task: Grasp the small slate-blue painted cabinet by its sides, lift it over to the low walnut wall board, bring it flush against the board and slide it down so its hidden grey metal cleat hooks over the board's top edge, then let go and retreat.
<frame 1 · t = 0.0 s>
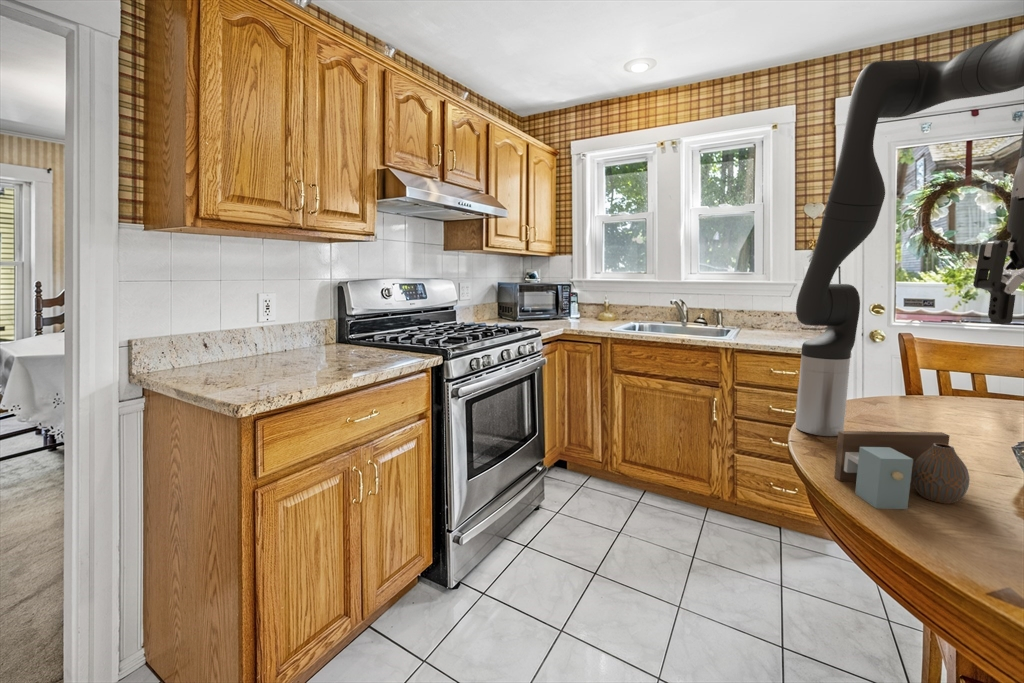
vase: (936, 499, 77), on the table
cabinet: (880, 501, 76), on the table
wall board: (888, 480, 84), on the table
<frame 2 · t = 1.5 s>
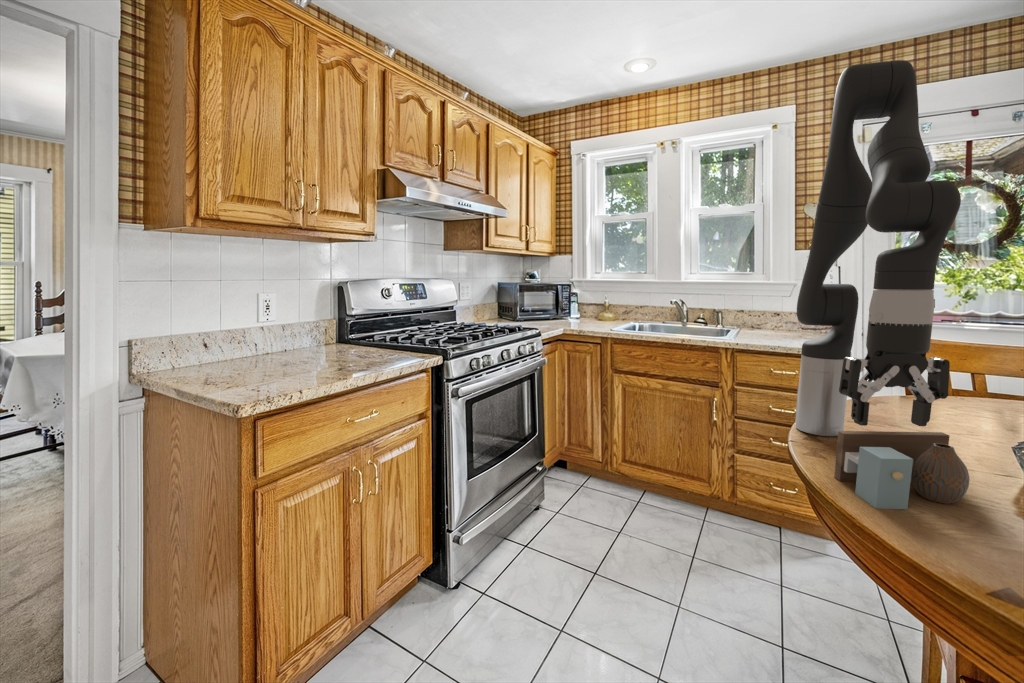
hand: (889, 424, 74), 13 cm above the table, fingers open, 8 cm apart
nothing on the table moved.
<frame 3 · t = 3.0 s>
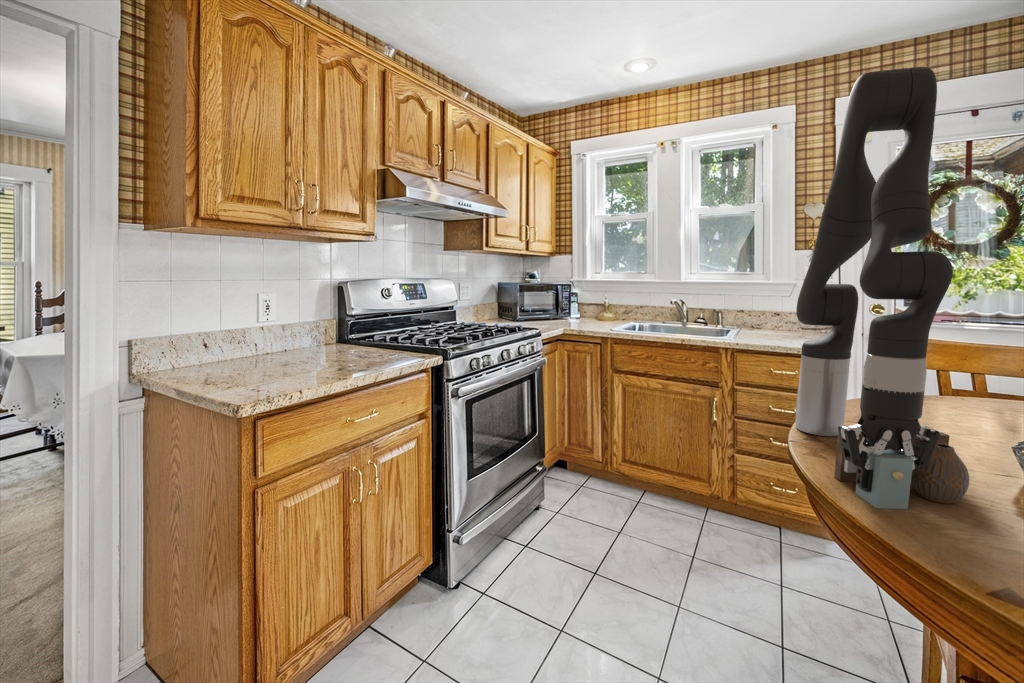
hand: (881, 489, 76), 2 cm above the table, fingers closed on cabinet, 4 cm apart
cabinet: (880, 501, 76), on the table, touching gripper
everything else where it was.
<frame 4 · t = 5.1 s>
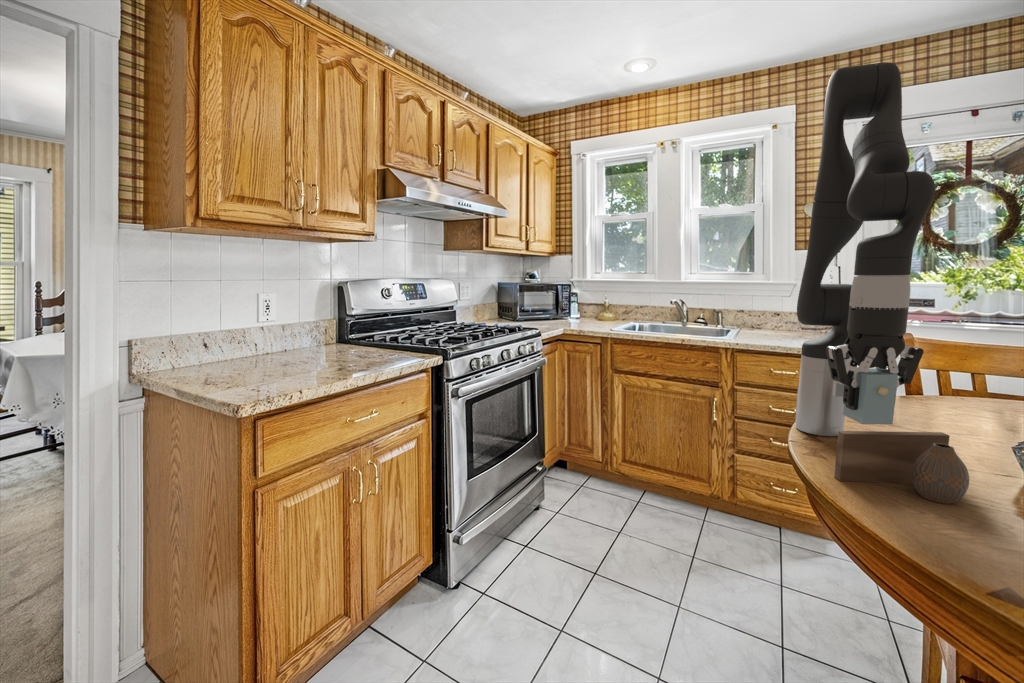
hand: (867, 408, 79), 14 cm above the table, fingers closed on cabinet, 4 cm apart
cabinet: (866, 419, 79), point 12 cm above the table, touching gripper
everything else where it was.
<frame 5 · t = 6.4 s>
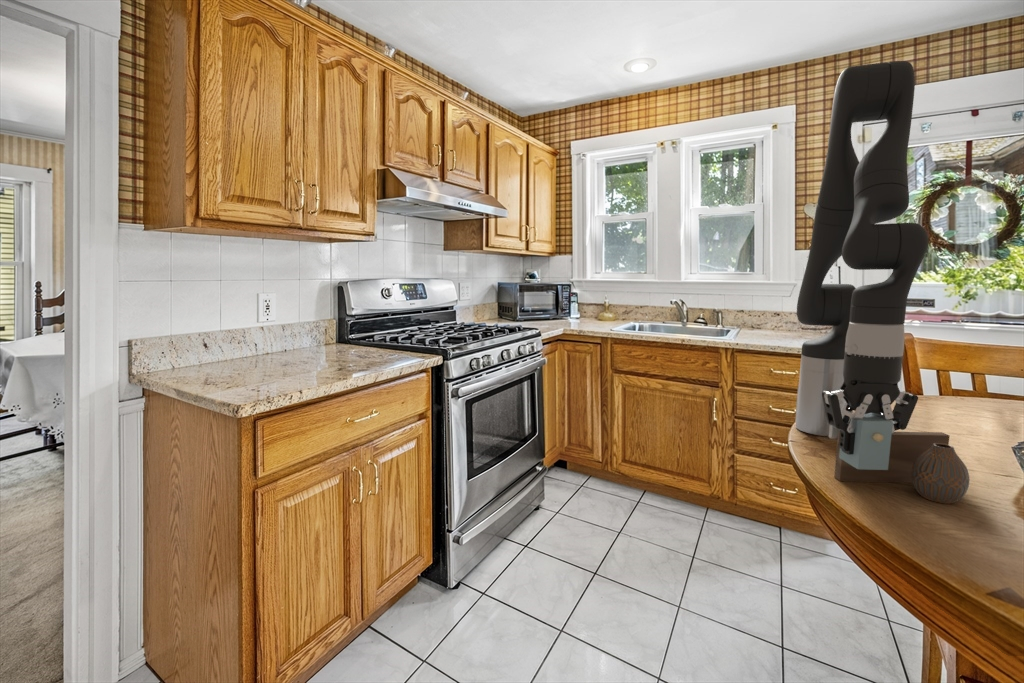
hand: (863, 452, 79), 6 cm above the table, fingers closed on cabinet, 4 cm apart
cabinet: (862, 463, 80), point 4 cm above the table, touching gripper
everything else where it was.
when the fingers open (6 cm above the table, at t = 7.3 s): cabinet stays where it is, resting on wall board.
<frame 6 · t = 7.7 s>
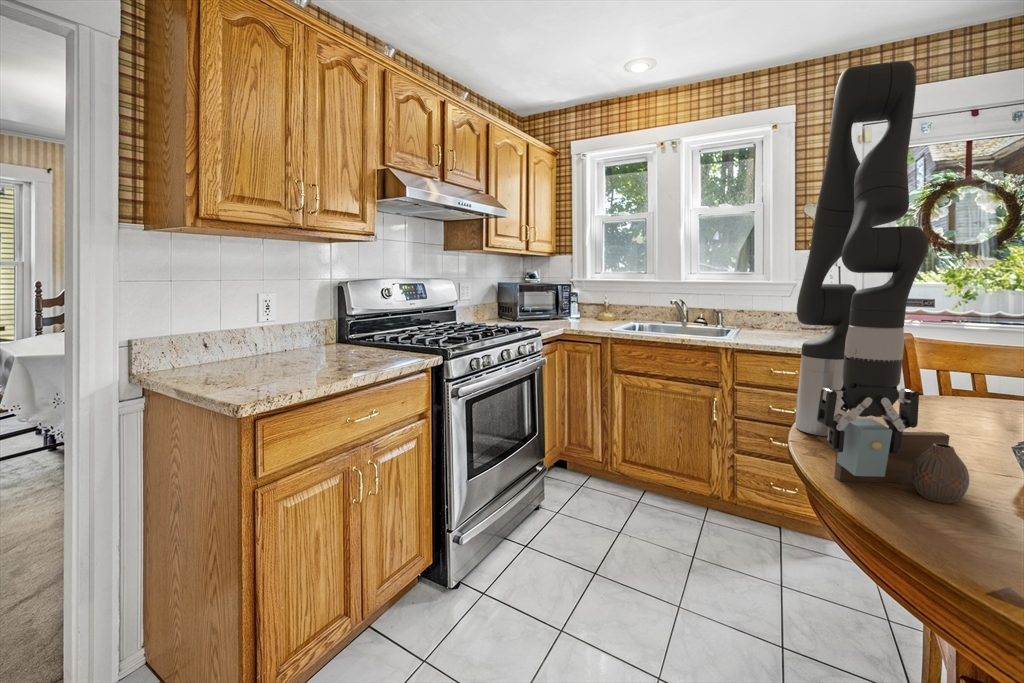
hand: (863, 451, 79), 7 cm above the table, fingers open, 8 cm apart
cabinet: (859, 468, 80), point 3 cm above the table, touching wall board
everything else where it was.
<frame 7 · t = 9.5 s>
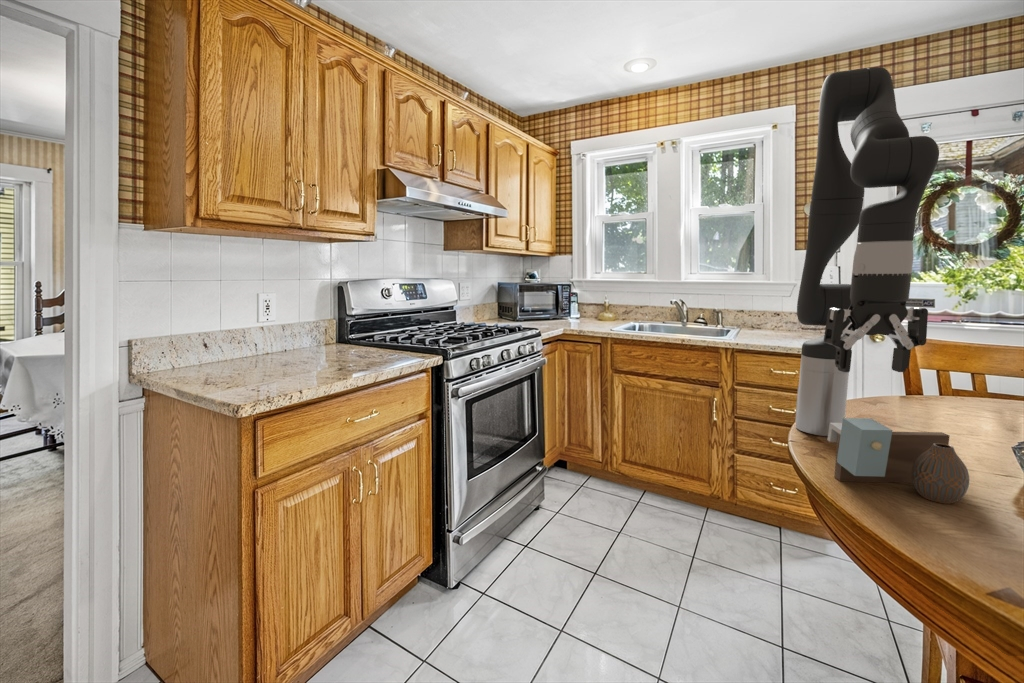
hand: (870, 371, 79), 20 cm above the table, fingers open, 8 cm apart
nothing on the table moved.
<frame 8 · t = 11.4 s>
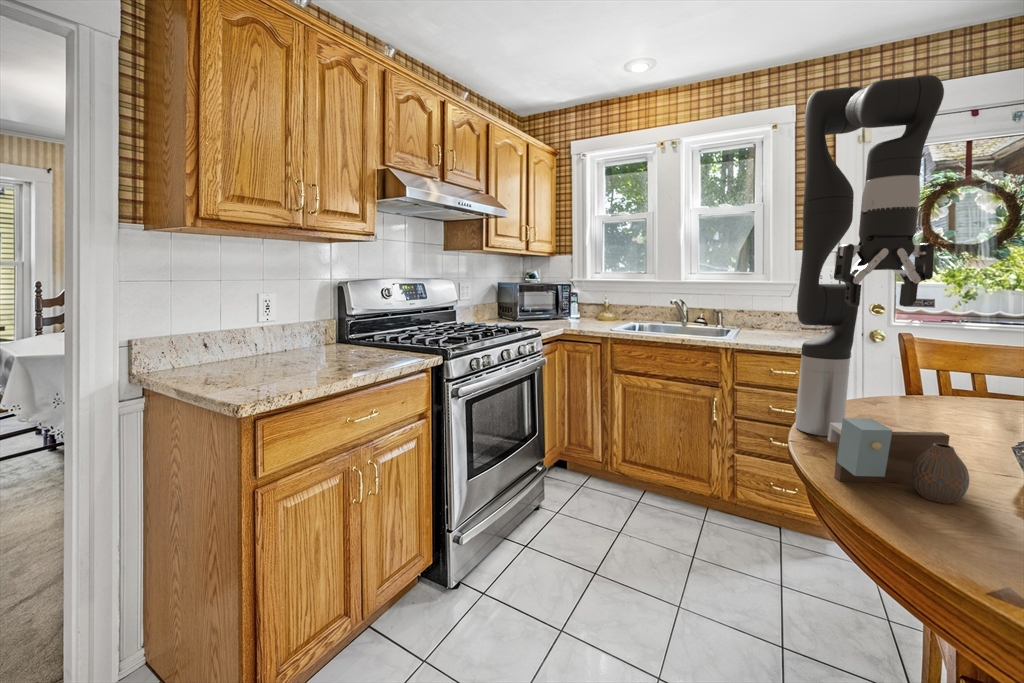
hand: (879, 306, 82), 30 cm above the table, fingers open, 8 cm apart
nothing on the table moved.
at the end: cabinet 0.4 cm from the target spot, point 3.3 cm above the table; cabinet touching wall board; cabinet tilted 4° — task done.
